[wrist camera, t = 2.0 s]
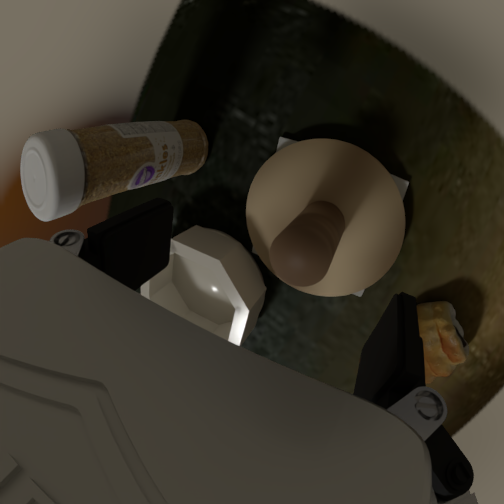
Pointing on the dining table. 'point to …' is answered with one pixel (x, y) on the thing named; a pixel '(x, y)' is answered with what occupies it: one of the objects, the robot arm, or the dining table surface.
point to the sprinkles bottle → (105, 162)
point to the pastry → (440, 339)
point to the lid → (325, 217)
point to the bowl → (210, 283)
